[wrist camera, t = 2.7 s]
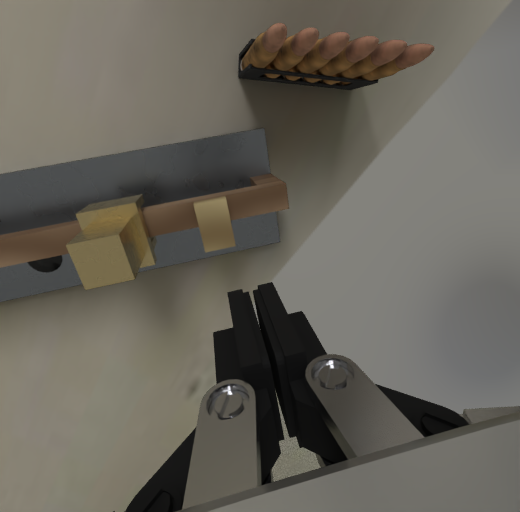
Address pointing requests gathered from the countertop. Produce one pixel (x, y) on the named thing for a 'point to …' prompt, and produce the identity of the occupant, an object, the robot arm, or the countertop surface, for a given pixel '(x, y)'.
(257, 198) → the bar
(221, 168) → the bolt-hole plate
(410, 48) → the ammunition clip
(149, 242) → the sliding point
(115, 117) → the countertop surface
